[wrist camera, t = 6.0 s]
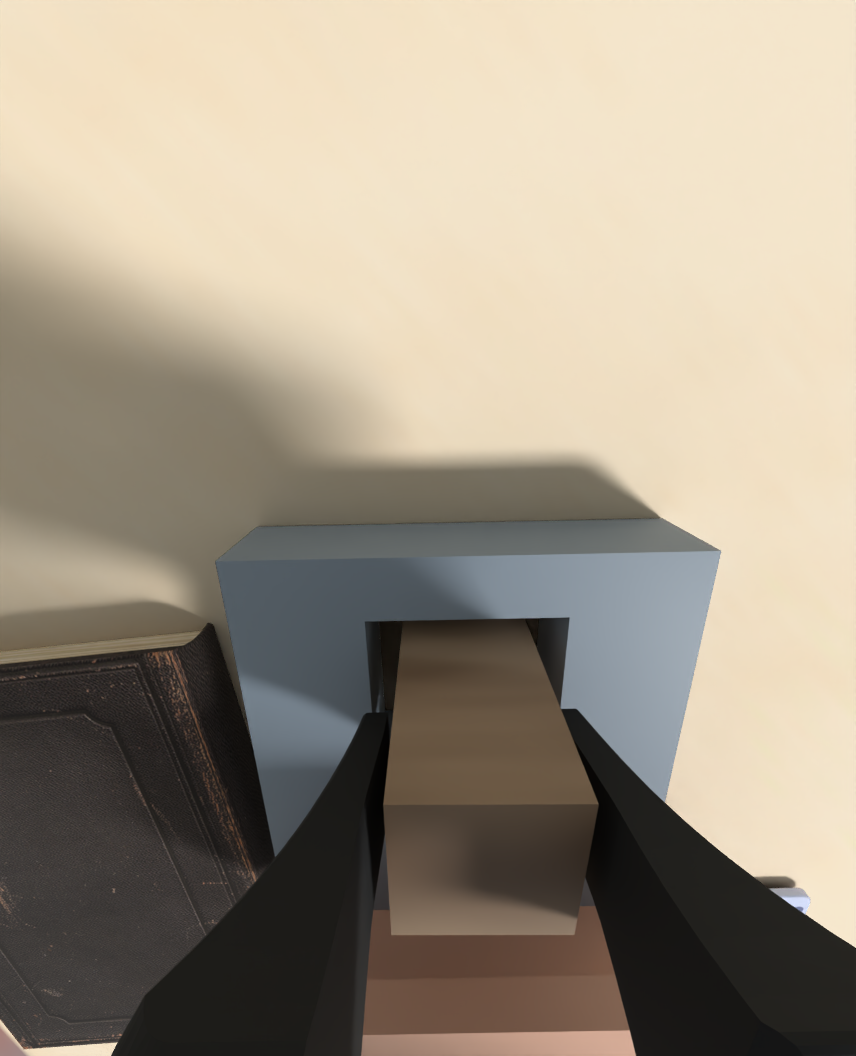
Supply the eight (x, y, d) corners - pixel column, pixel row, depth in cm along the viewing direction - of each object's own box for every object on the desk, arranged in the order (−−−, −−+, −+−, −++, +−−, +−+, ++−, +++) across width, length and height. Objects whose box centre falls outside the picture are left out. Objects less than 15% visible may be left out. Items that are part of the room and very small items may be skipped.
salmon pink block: (638, 921, 17) (722, 1134, 12) (289, 927, 17) (235, 1142, 12) (660, 823, 15) (769, 1028, 10) (269, 830, 15) (196, 1038, 10)
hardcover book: (59, 989, 24) (23, 1049, 22) (-169, 655, 17) (-259, 696, 14) (331, 968, 23) (322, 1028, 21) (220, 614, 16) (188, 650, 14)
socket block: (607, 843, 19) (638, 921, 17) (309, 848, 19) (289, 927, 17) (662, 518, 14) (721, 551, 11) (257, 526, 14) (215, 561, 11)
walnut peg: (508, 682, 17) (574, 935, 9) (408, 682, 17) (390, 935, 9) (514, 593, 15) (598, 804, 8) (405, 594, 15) (383, 804, 8)
